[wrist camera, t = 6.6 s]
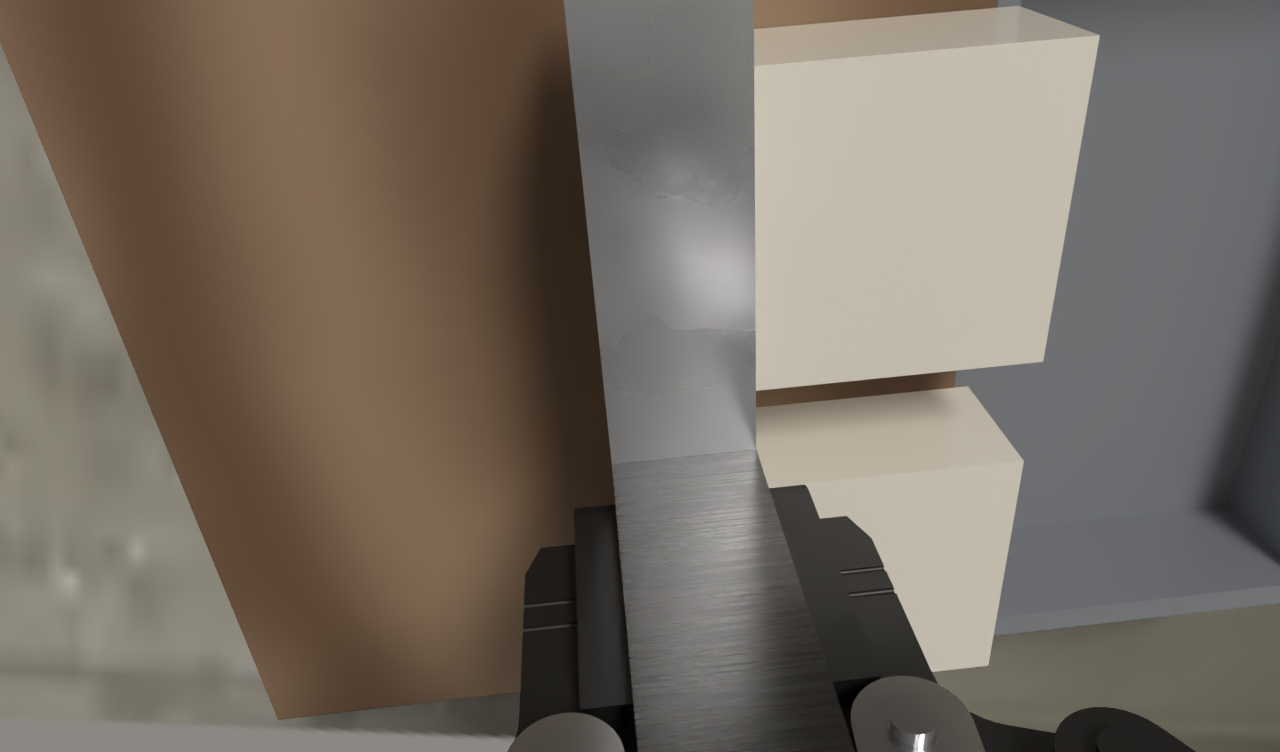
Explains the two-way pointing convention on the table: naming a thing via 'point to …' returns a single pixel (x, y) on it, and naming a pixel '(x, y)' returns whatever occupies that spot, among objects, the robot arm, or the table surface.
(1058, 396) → the box
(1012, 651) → the table surface
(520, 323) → the walnut plate
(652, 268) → the bar
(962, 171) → the cream tile
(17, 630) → the table surface
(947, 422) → the cream tile
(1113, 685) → the table surface
